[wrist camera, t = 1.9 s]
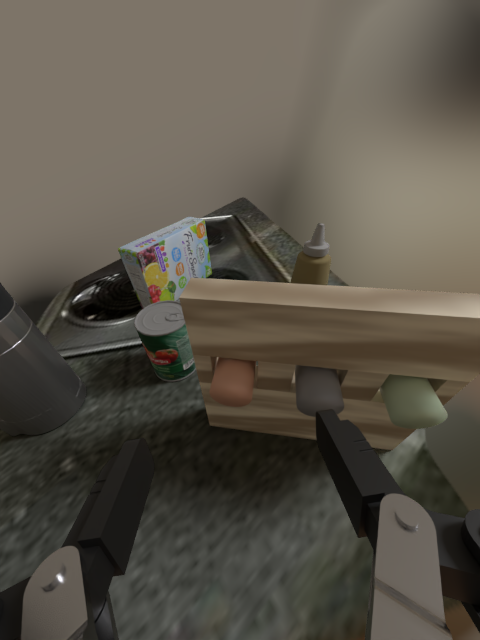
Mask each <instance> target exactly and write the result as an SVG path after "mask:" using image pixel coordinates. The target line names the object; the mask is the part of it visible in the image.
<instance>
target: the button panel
mask: <svg viewBox="0 0 480 640" xmlns="http://www.w3.org/2000/svg"><path fill="white" fill-rule="evenodd" d="M179 299H180V303H181V307H182V312H183V316H184V320H185V324H186V328H187V332H188V337H189V341H190V345H191V349H192V353H193V357H194V362H195V366H196V370H197V374H198V378H199V382H200V386H201V391H202V395H203V399H204V403H205V407H206V411H207V416H208V420H209V424H210V426H216V427H224V428H231V429H238V430H246V431H253V432H260V433H268V434H275V435H283V436H290V437H297V438H305V439H312V440H317V439H316V417H312V416H308V415H305V414H303V413H301V412H300V411H299V410H298V409H297V405H296V386H295V366H296V365H302V366H312V367H322V368H332V369H336V370H337V375H338V379H339V384H340V388H341V393H342V397H343V402H344V409H343V411H342V412H340V413H339V414H337V416H338V417H339V419H340V421H341V420H347V419H348V420H349V421H350V422H352V423H353V424H354V425H355V426H357V427H358V428H359V429H360V431H361V432H362V434H363V435H364V436H365V438H366V440H367V441H368V442H369V444H370V445H371V447H372V448H379V449H386V450H393V449H394V448H395V447H396V446H398V445H399V444H400V443H401V442H402V441H403V440H404V439H406V438H407V437H408V436H409V435H410V434H411V433H412V432H414V431H415V430H416V429H408V428H402V427H398V426H396V425H394V424H393V423H392V422H391V420H390V417H389V414H388V411H387V409H386V406H385V403H384V401H383V398H382V395H381V392H380V390H379V388H380V387H381V386H382V384H383V383H384V381H385V380H386V379H387V377H388V376H389V374H393V375H403V376H413V377H424V378H427V379H428V381H429V382H430V384H431V386H432V388H433V390H434V391H435V393H436V395H437V397H438V398H439V400H440V402H441V404H442V405H444V404H446V403H447V402H448V401H449V400H450V399H451V398H452V397H454V396H455V395H456V394H457V393H458V392H459V391H460V390H461V389H463V388H464V387H465V386H466V385H467V384H468V383H469V382H470V381H472V380H473V379H474V378H475V377H476V376H477V375H478V374H480V294H470V293H452V292H434V291H416V290H398V289H382V288H364V287H347V286H329V285H312V284H294V283H276V282H259V281H241V280H224V279H206V278H190V280H189V282H188V284H187V285H186V287H185V289H184V290H183V292H182V294H181V295H180V297H179ZM219 357H220V358H230V359H241V360H251V361H258V366H256V367H255V376H254V386H253V395H252V401H251V402H250V403H249V404H248V405H246V406H242V407H230V406H225V405H222V404H220V403H218V402H216V401H215V400H214V399H213V398H212V397H211V396H210V393H209V391H210V387H211V383H212V380H213V376H214V372H215V369H216V365H217V361H218V358H219Z"/></svg>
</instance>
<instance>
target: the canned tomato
mask: <svg viewBox="0 0 480 640" xmlns="http://www.w3.org/2000/svg"><path fill="white" fill-rule="evenodd" d="M134 325H135V328H136V329H137V332H138V334H139V337H140V339H141V341H142V344H143V345H144V348H145V350H146V352H147V355H148V357H149V359H150V361H151V364H152V366H153V368H154V371H155V374H156V375H157V376H158V377H159V378H160V379H162V380H164V381H168V382H174V381H180V380H183V379H185V378H187V377H188V376H190V375H191V374H192V373H193V372H194V371H195V370H196V366H195V362H194V357H193V353H192V349H191V345H190V341H189V337H188V332H187V328H186V324H185V320H184V316H183V312H182V307H181V303H180V302H178V301H172V300H167V301H160V302H156V303H153V304H151V305H148V306H147V307H145V308H144V309H142V310H141V311H140V312H139V313H138V314H137V316H136V317H135V320H134Z"/></svg>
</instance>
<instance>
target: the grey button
mask: <svg viewBox="0 0 480 640" xmlns="http://www.w3.org/2000/svg"><path fill="white" fill-rule="evenodd" d="M295 386H296V405H297V409H298V410H299V411H300V412H301V413H303V414H305V415H308V416H312V417H316V411H322V410H329V409H333V410H334V411H335V412H336V414H339V413H340V412H342V411H343V409H344V402H343V397H342V393H341V388H340V384H339V379H338V375H337V370H336V369H332V368H322V367H312V366H302V365H296V366H295Z"/></svg>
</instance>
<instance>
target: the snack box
mask: <svg viewBox="0 0 480 640" xmlns="http://www.w3.org/2000/svg"><path fill="white" fill-rule="evenodd" d="M118 251H119V253H120V255H121V258H122V261H123V263H124V266H125V268H126V270H127V273H128V275H129V278H130V280H131V283H132V285H133V288H134V290H135V292H136V295H137V297H138V300H139V302H140V304H141V307H142V309H144V308H145V307H147V306H148V305H151V304H153V303H156V302H160V301H167V300H172V301H177V300H178V299H179V297H180V295H181V294H182V292H183V290H184V289H185V287H186V285H187V284H188V282H189V280H190V278H207V277H208V276H209V275H211V274H212V271H211V263H210V256H209V249H208V241H207V234H206V227H205V220H204V219H198V218H193V217H187V218H185V219H183V220H181V221H179V222H176V223H174V224H172V225H170V226H167V227H165V228H163V229H160V230H158V231H156V232H154V233H151V234H149V235H147V236H145V237H142V238H140V239H138V240H136V241H133V242H131V243H129V244H127V245H124V246H122V247H120V248H118Z"/></svg>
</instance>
